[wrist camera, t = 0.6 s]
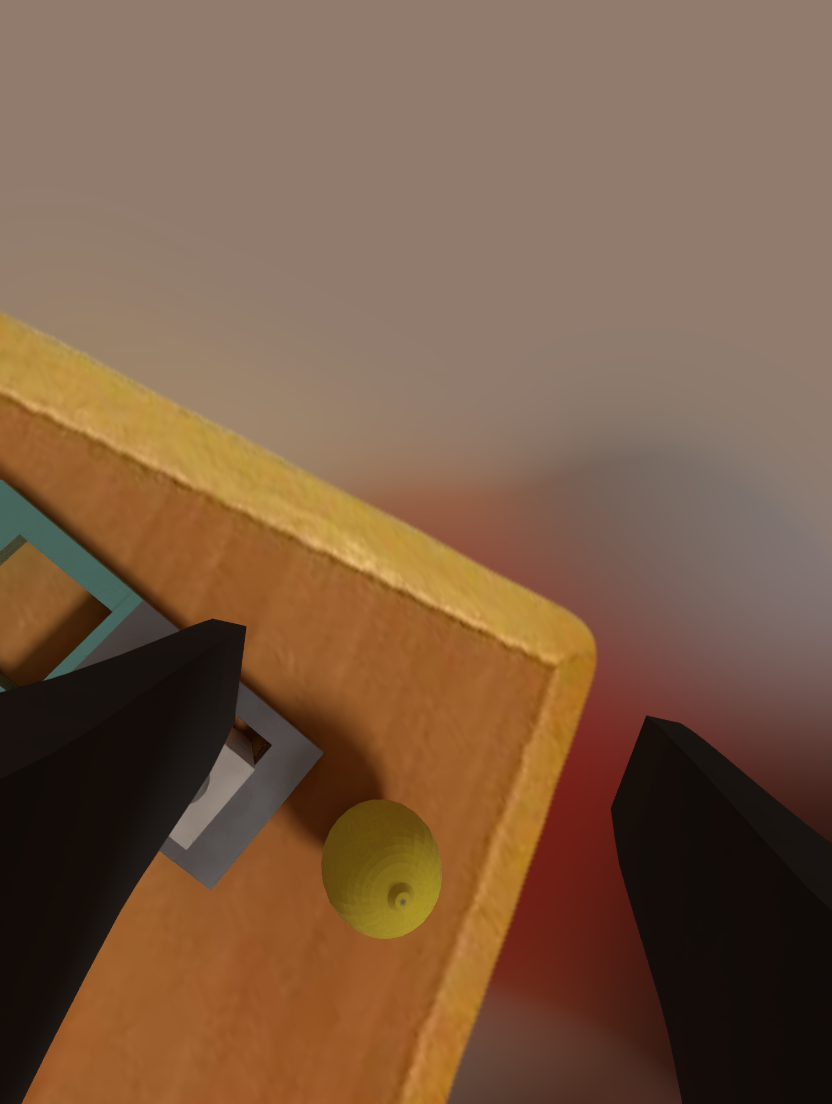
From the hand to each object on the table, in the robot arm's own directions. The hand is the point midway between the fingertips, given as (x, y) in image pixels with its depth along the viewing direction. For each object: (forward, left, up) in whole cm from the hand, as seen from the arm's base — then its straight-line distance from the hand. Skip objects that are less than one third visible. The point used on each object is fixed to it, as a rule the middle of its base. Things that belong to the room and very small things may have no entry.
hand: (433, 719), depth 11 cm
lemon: (-5, -10, -23) cm, 26 cm away
